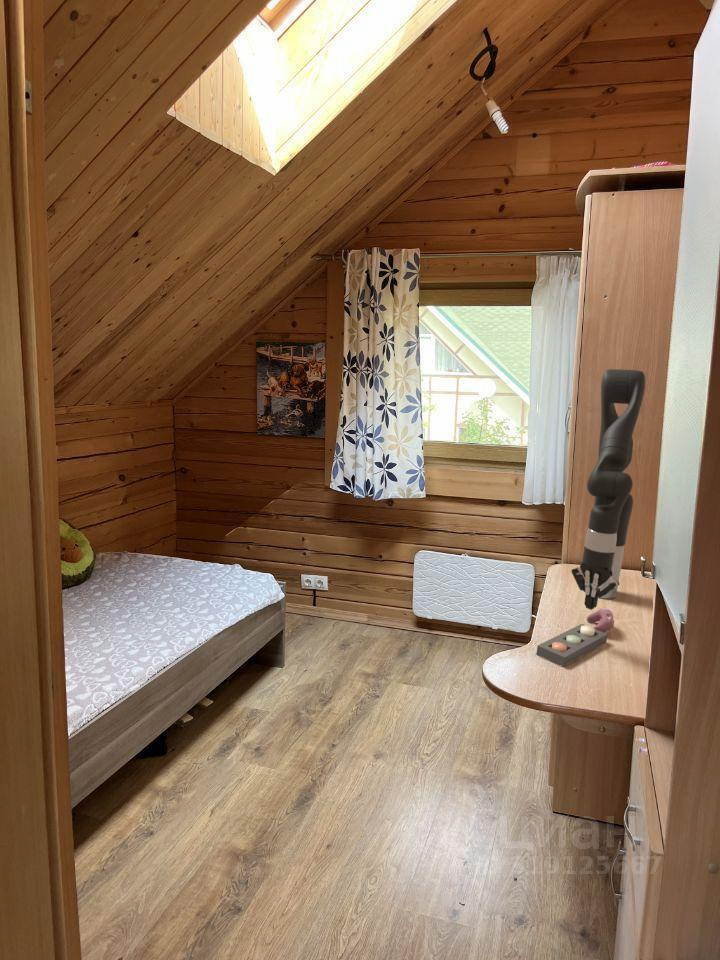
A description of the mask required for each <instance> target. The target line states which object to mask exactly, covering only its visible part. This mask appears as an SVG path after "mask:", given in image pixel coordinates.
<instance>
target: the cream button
mask: <svg viewBox="0 0 720 960" xmlns="http://www.w3.org/2000/svg"><path fill="white" fill-rule="evenodd" d="M593 627H594V626H590V625H586V626H581V629H580V634H583V635H585V636H588V637H590V638H591V637H593V636H594V633H595V629H594V628H593Z"/></svg>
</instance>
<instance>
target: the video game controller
mask: <svg viewBox="0 0 720 960" xmlns="http://www.w3.org/2000/svg"><path fill="white" fill-rule="evenodd" d="M586 621H587V622H588V623H597V622H598V623H597V625H595V626H592V627H593V628H594V629H596V630H599V631H601V632H604V633H606V632H608V631H610V630H611V629H614V625H615V620H614V613H613V612H612V611H611V610H610V609H608V608H605V607H603V608H600V609H598V610H597V611H595V612H592V613H591V614H589V615H587V618H586Z"/></svg>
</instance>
